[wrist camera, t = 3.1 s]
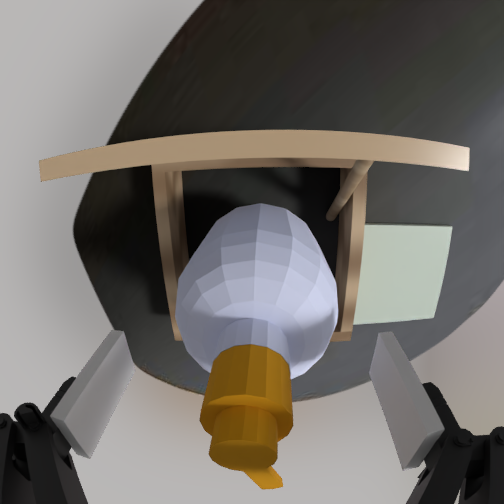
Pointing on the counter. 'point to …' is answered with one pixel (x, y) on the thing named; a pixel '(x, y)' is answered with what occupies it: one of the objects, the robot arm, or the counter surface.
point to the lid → (257, 150)
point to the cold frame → (345, 204)
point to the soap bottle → (255, 329)
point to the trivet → (401, 271)
